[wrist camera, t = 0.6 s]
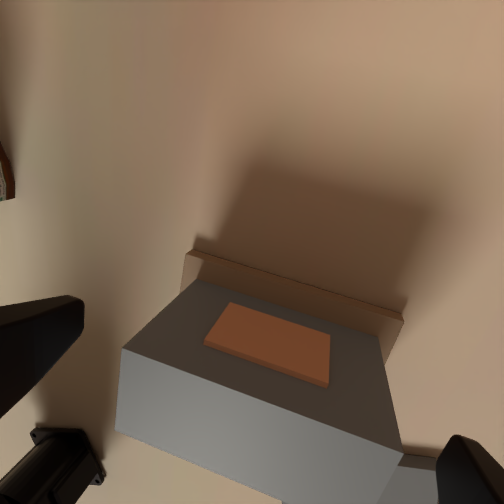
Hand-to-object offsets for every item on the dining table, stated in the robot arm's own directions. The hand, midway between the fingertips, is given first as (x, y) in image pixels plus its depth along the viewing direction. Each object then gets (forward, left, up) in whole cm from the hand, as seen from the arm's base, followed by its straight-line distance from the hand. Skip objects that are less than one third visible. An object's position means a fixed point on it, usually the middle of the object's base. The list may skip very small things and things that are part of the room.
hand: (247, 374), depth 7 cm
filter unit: (-3, -6, -13) cm, 15 cm away
